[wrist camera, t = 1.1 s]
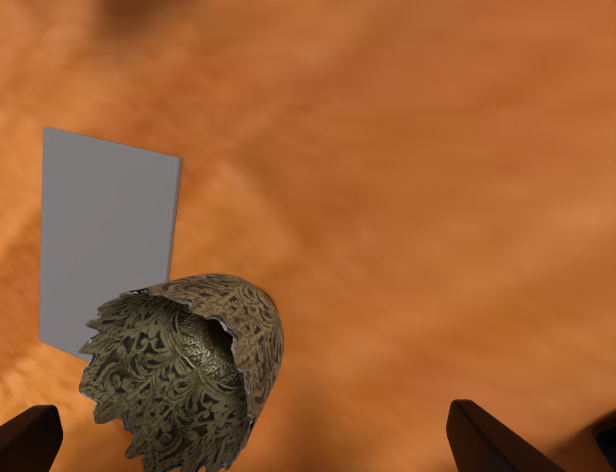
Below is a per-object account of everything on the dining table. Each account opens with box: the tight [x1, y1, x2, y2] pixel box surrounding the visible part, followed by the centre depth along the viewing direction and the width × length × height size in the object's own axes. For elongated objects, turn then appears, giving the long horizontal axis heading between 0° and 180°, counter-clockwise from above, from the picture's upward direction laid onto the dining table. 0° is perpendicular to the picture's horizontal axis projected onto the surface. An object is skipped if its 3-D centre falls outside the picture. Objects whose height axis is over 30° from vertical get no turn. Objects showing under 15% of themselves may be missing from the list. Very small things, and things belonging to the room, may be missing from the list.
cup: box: [78, 273, 284, 472], centre depth 17 cm, size 8×7×8 cm
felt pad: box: [39, 127, 182, 362], centre depth 23 cm, size 10×15×1 cm, turn 168°
